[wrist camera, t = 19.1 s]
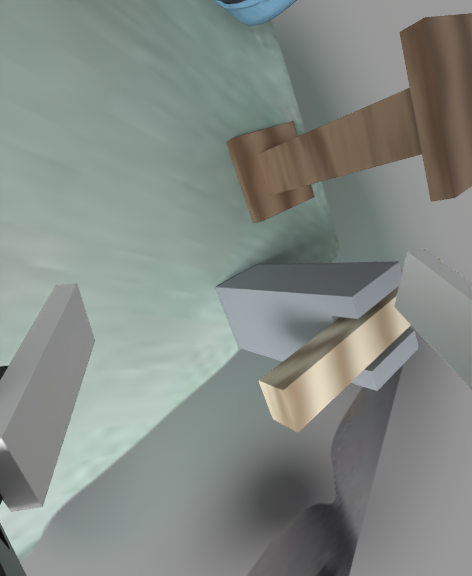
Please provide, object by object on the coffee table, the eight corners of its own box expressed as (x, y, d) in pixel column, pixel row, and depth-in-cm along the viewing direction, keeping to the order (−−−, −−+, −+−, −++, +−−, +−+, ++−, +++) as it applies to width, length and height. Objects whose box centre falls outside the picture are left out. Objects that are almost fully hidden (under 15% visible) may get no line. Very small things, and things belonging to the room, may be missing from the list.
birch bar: (273, 419, 30) (298, 432, 28) (258, 380, 29) (284, 390, 27) (421, 289, 43) (448, 290, 41) (415, 259, 42) (442, 258, 40)
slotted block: (238, 347, 53) (377, 390, 34) (215, 287, 50) (351, 297, 31) (275, 322, 57) (418, 347, 38) (256, 264, 54) (399, 261, 35)
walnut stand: (255, 229, 53) (454, 197, 30) (223, 134, 50) (424, 17, 27) (306, 204, 59) (505, 163, 36) (282, 118, 56) (487, 11, 33)
